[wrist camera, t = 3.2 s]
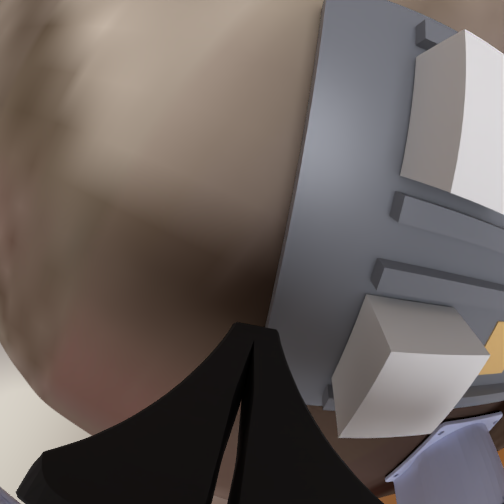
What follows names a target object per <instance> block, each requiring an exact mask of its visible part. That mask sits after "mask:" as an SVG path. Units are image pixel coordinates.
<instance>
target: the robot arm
mask: <svg viewBox="0 0 504 504" xmlns="http://www.w3.org/2000/svg"><path fill="white" fill-rule="evenodd" d="M241 399H242V402H241ZM240 402H241V413H240V423H239V435H238V446H237V456H236V463H235V469H234V474H233V479H232V484H231V489H230V493H229V498H228V503H227V504H384V503H382V502H381V501H380V500H379V499H378V498H377V497H376V496H375V495H374V494H373V493H372V492H371V491H370V490H369V489H368V488H367V487H366V486H365V485H364V484H363V483H362V482H361V481H360V480H359V479H358V478H357V477H356V476H355V475H354V473H353V472H352V471H351V470H350V469H349V467H348V466H347V465H346V464H345V463H344V461H343V460H342V459H341V458H340V457H339V455H338V454H337V453H336V452H335V450H334V449H333V448H332V446H331V445H330V443H329V442H328V440H327V439H326V438H325V436H324V435H323V433H322V432H321V430H320V428H319V427H318V425H317V424H316V422H315V420H314V419H313V417H312V415H311V413H310V412H309V410H308V408H307V406H306V404H305V402H304V400H303V398H302V396H301V394H300V392H299V390H298V388H297V385H296V383H295V381H294V378H293V376H292V374H291V371H290V369H289V366H288V363H287V361H286V358H285V355H284V352H283V348H282V345H281V341H280V336H279V332H278V331H277V330H276V329H271V328H266V327H260V326H255V325H250V324H244V323H239V322H236V323H234V324H233V325H232V327H231V328H230V330H229V332H228V333H227V334H226V336H225V337H224V338H223V340H222V341H221V342H220V343H219V345H218V346H217V347H216V348H215V349H214V350H213V352H212V353H211V354H210V355H209V356H208V357H207V358H206V359H205V360H204V361H203V362H202V363H201V364H200V365H199V366H198V367H197V368H196V369H195V370H194V371H193V372H192V373H191V374H190V375H189V376H187V377H186V378H185V379H184V380H183V381H182V382H181V383H180V384H178V385H177V386H176V387H175V388H173V389H172V390H171V391H170V392H168V393H167V394H166V395H164V396H163V397H161V398H160V399H159V400H157V401H156V402H154V403H153V404H151V405H150V406H148V407H147V408H145V409H143V410H142V411H140V412H139V413H137V414H135V415H134V416H132V417H130V418H128V419H127V420H125V421H123V422H121V423H119V424H117V425H115V426H113V427H110V428H108V429H106V430H104V431H102V432H100V433H98V434H95V435H93V436H91V437H88V438H86V439H83V440H80V441H77V442H74V443H71V444H68V445H64V446H61V447H58V448H55V449H51V450H48V451H45V452H43V453H42V455H41V456H40V457H39V458H38V459H37V460H36V461H35V462H34V464H33V465H32V466H31V468H30V469H29V471H28V473H27V474H26V476H25V478H24V479H23V481H22V483H21V484H20V486H19V488H18V489H17V491H16V494H17V497H18V498H19V499H20V500H21V501H23V502H24V503H25V504H211V503H212V499H213V495H214V491H215V486H216V482H217V478H218V473H219V469H220V465H221V461H222V458H223V454H224V451H225V448H226V445H227V442H228V439H229V436H230V433H231V430H232V427H233V424H234V421H235V418H236V415H237V412H238V409H239V406H240ZM502 416H503V414H502V412H497V413H492V414H488V415H483V416H478V417H473V418H467V419H461V420H454V421H447V422H444V423H442V424H440V425H439V426H438V427H437V428H436V429H435V431H434V432H433V433H432V434H431V435H430V436H429V437H428V438H427V439H426V440H425V441H424V442H423V443H422V444H421V445H420V446H419V447H418V448H417V449H416V450H415V451H414V452H413V453H412V454H411V455H410V456H409V457H408V458H407V459H406V460H405V461H404V462H403V463H402V464H400V465H399V466H398V467H397V468H396V469H395V470H394V471H393V472H391V473H390V474H389V475H388V476H387V477H386V478H385V481H386V482H391V481H393V482H394V487H395V494H396V500H397V504H504V468H503V466H502V463H501V461H500V458H499V455H498V453H497V450H496V448H495V445H494V443H493V441H492V438H491V436H490V434H489V431H490V430H491V429H492V427H493V426H494V425H495V424H496V423H497V422H498V421H499V420H500V419H501V417H502ZM0 504H20V503H19V502H18V501H17V500H15V499H14V498H13V497H12V496H10V495H9V494H8V493H7V492H6V491H4V490H3V489H2V488H1V487H0Z"/></svg>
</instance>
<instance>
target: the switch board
mask: <svg viewBox="0 0 504 504" xmlns="http://www.w3.org/2000/svg"><path fill="white" fill-rule="evenodd" d="M456 33H458V32H457V31H455V30H453V29H451V28H450V27H448V26H446V25H444V24H442V23H440V22H438V21H436V20H433V19H431V18H429V17H427V16H425V15H423V14H420V13H418V12H416V11H413V10H411V9H408V8H406V7H403V6H401V5H398V4H395V3H393V2H390V1H387V0H324V2H323V6H322V11H321V18H320V26H319V34H318V41H317V48H316V55H315V62H314V69H313V75H312V82H311V88H310V95H309V101H308V107H307V114H306V120H305V126H304V132H303V137H302V143H301V149H300V155H299V160H298V166H297V172H296V177H295V183H294V188H293V193H292V199H291V204H290V209H289V214H288V220H287V225H286V230H285V235H284V240H283V245H282V250H281V255H280V260H279V265H278V269H277V274H276V279H275V284H274V288H273V293H272V298H271V302H270V307H269V312H268V316H267V321H266V325H265V327H266V328H271V329H276V330H277V331H278V332H279V336H280V341H281V345H282V348H283V352H284V355H285V358H286V361H287V363H288V366H289V369H290V371H291V374H292V376H293V378H294V381H295V383H296V385H297V388H298V390H299V392H300V394H301V396H302V398H303V400H304V402H305V404H306V405H316V406H323V410H331V411H335V402H334V394H333V386H332V376H333V374H334V372H335V369H336V367H337V365H338V363H339V361H340V358H341V356H342V354H343V352H344V349H345V347H346V345H347V342H348V340H349V337H350V335H351V333H352V330H353V328H354V325H355V323H356V320H357V318H358V315H359V312H360V310H361V307H362V304H363V302H364V299H365V296H366V294H368V295H374V296H380V297H387V298H393V299H399V300H406V301H412V302H419V303H425V304H432V305H439V306H446V307H452V308H455V310H456V311H457V312H458V313H459V314H460V316H461V317H462V318H463V319H464V321H465V322H466V323H467V324H468V326H469V327H470V328H471V330H472V331H473V332H474V333H475V335H476V336H477V337H478V339H479V340H480V341H481V343H482V344H483V345H484V347H485V348H486V350H487V351H488V352H489V354H490V357H489V359H488V360H487V362H486V363H485V365H484V367H483V368H482V370H481V371H480V373H479V374H478V376H477V377H476V378H475V380H474V381H473V383H472V384H471V386H470V387H469V388H468V390H467V391H466V392H465V394H464V395H463V396H462V398H461V399H460V400H459V402H458V403H457V404H456V405H455V407H454V408H461V407H469V406H475V405H482V404H488V403H493V402H498V401H503V400H504V215H503V214H501V213H499V212H496V211H494V210H492V209H490V208H487V207H485V206H483V205H480V204H478V203H475V202H473V201H470V200H468V199H465V198H463V197H460V196H457V195H455V194H452V193H449V192H447V191H444V190H441V189H439V188H436V187H433V186H430V185H427V184H424V183H421V182H418V181H415V180H412V179H409V178H406V177H403V176H400V173H401V168H402V163H403V158H404V153H405V147H406V142H407V136H408V129H409V123H410V115H411V108H412V99H413V90H414V79H415V66H416V57H417V56H419V55H420V54H422V53H424V52H425V51H427V50H429V49H430V48H432V47H434V46H435V45H437V44H439V43H441V42H442V41H444V40H446V39H448V38H449V37H451V36H453V35H455V34H456Z"/></svg>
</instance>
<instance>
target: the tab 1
mask: <svg viewBox="0 0 504 504" xmlns="http://www.w3.org/2000/svg"><path fill="white" fill-rule="evenodd" d="M400 176H403V177H406V178H409V179H412V180H415V181H418V182H421V183H424V184H427V185H430V186H433V187H436V188H439V189H441V190H444V191H447V192H449V193H452V194H455V195H457V196H460V197H463V198H465V199H468V200H470V201H473V202H475V203H478V204H480V205H483V206H485V207H487V208H490V209H492V210H494V211H496V212H499V213H501V214H503V215H504V54H503V53H501V52H500V51H498V50H497V49H496V48H494V47H493V46H491V45H490V44H488V43H487V42H485V41H484V40H482V39H481V38H479V37H477V36H476V35H474V34H473V33H471V32H469V31H467V30H466V29H464V30H462V31H460V32H458V33H456V34H455V35H453V36H451V37H449V38H448V39H446V40H444V41H442V42H441V43H439V44H437V45H435V46H434V47H432V48H430V49H429V50H427V51H425V52H424V53H422V54H420V55H419V56H417V57H416V66H415V79H414V90H413V99H412V108H411V115H410V123H409V129H408V136H407V142H406V147H405V153H404V158H403V163H402V168H401V173H400Z"/></svg>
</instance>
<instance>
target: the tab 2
mask: <svg viewBox="0 0 504 504" xmlns="http://www.w3.org/2000/svg"><path fill="white" fill-rule="evenodd" d="M489 357H490V354H489V352H488V351H487V350H486V348H485V347H484V345H483V344H482V343H481V341H480V340H479V339H478V337H477V336H476V335H475V333H474V332H473V331H472V330H471V328H470V327H469V326H468V324H467V323H466V322H465V321H464V319H463V318H462V317H461V316H460V314H459V313H458V312H457V311H456V310H455V308H452V307H446V306H439V305H432V304H425V303H419V302H412V301H406V300H399V299H393V298H387V297H380V296H374V295H368V294H366V296H365V299H364V302H363V304H362V307H361V310H360V312H359V315H358V318H357V320H356V323H355V325H354V328H353V330H352V333H351V335H350V337H349V340H348V342H347V345H346V347H345V349H344V352H343V354H342V356H341V358H340V361H339V363H338V365H337V367H336V369H335V372H334V374H333V376H332V386H333V394H334V402H335V411H336V420H337V430H338V438H385V437H402V436H414V435H423V434H431V433H432V432H433V431H434V430H435V429H436V428H437V427H438V426H439V424H440V423H441V422H442V421H443V420H444V419H445V418H446V416H447V415H448V414H449V413H450V412H451V410H452V409H453V408H454V407H455V405H456V404H457V403H458V402H459V400H460V399H461V398H462V396H463V395H464V394H465V392H466V391H467V390H468V388H469V387H470V386H471V384H472V383H473V381H474V380H475V378H476V377H477V376H478V374H479V373H480V371H481V370H482V368H483V367H484V365H485V363H486V362H487V360H488V359H489Z"/></svg>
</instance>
